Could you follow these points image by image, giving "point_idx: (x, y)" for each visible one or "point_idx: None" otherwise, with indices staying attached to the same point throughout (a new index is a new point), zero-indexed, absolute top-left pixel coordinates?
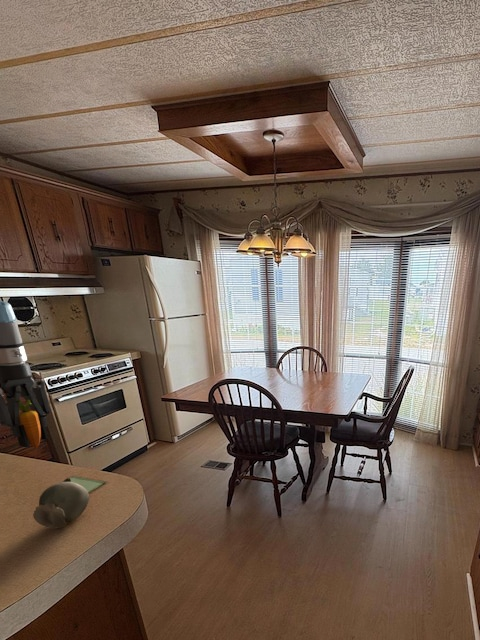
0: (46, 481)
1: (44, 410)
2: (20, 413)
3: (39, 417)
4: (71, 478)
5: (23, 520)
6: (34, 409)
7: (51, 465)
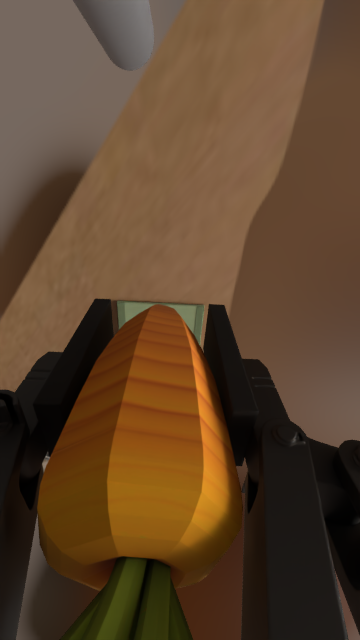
0: (166, 250)
1: (337, 511)
2: (62, 572)
3: (247, 454)
4: (192, 312)
5: (18, 349)
6: (251, 563)
7: (275, 158)
